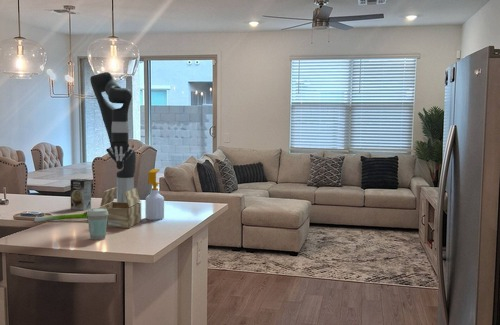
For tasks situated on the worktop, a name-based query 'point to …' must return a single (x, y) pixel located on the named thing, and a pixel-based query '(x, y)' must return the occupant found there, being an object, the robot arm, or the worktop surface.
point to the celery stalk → (61, 217)
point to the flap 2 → (132, 197)
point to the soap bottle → (154, 199)
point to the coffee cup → (97, 223)
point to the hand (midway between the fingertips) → (120, 169)
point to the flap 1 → (108, 196)
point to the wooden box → (122, 214)
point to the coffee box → (80, 194)
